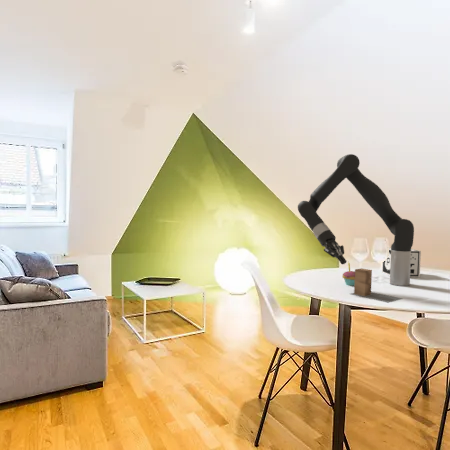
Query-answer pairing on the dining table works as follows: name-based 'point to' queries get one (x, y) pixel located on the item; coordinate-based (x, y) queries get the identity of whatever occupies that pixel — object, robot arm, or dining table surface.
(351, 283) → the cupcake
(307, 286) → the dining table surface
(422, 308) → the dining table surface
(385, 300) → the mat
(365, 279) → the walnut block
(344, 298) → the dining table surface
